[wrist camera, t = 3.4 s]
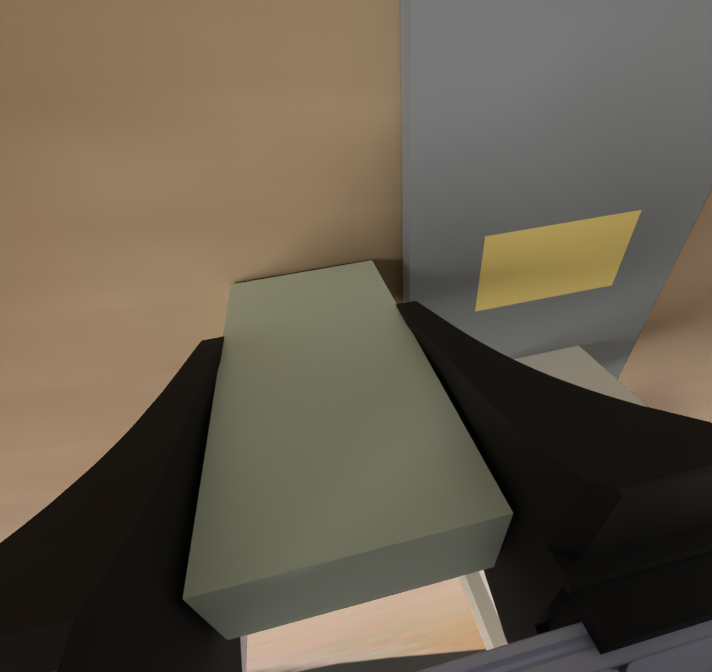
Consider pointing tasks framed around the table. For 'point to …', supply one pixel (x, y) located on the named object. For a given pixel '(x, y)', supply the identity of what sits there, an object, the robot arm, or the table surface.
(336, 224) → the table surface
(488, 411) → the robot arm
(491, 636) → the domino
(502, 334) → the domino mat
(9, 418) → the table surface
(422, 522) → the domino
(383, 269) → the table surface
